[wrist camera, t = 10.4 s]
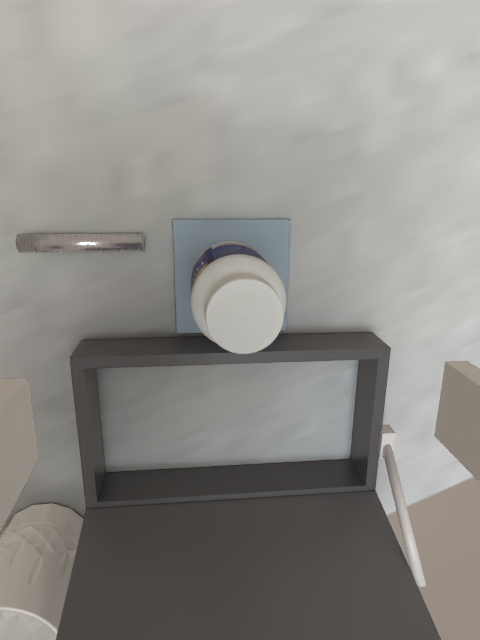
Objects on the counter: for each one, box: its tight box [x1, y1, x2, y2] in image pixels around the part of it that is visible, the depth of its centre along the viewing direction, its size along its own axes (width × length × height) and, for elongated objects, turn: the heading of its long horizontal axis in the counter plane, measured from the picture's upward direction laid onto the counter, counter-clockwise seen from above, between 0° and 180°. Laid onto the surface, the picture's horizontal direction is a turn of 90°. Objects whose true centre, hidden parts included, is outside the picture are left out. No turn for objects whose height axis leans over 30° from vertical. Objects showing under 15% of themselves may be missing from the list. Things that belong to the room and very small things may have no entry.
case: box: [56, 332, 441, 640], centre depth 29 cm, size 22×15×14 cm, turn 90°
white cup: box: [0, 503, 84, 640], centre depth 33 cm, size 8×8×10 cm
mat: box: [173, 219, 290, 333], centre depth 32 cm, size 8×8×1 cm
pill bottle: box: [191, 241, 286, 354], centre depth 27 cm, size 5×5×10 cm
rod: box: [16, 234, 145, 253], centre depth 30 cm, size 8×1×1 cm, turn 90°
